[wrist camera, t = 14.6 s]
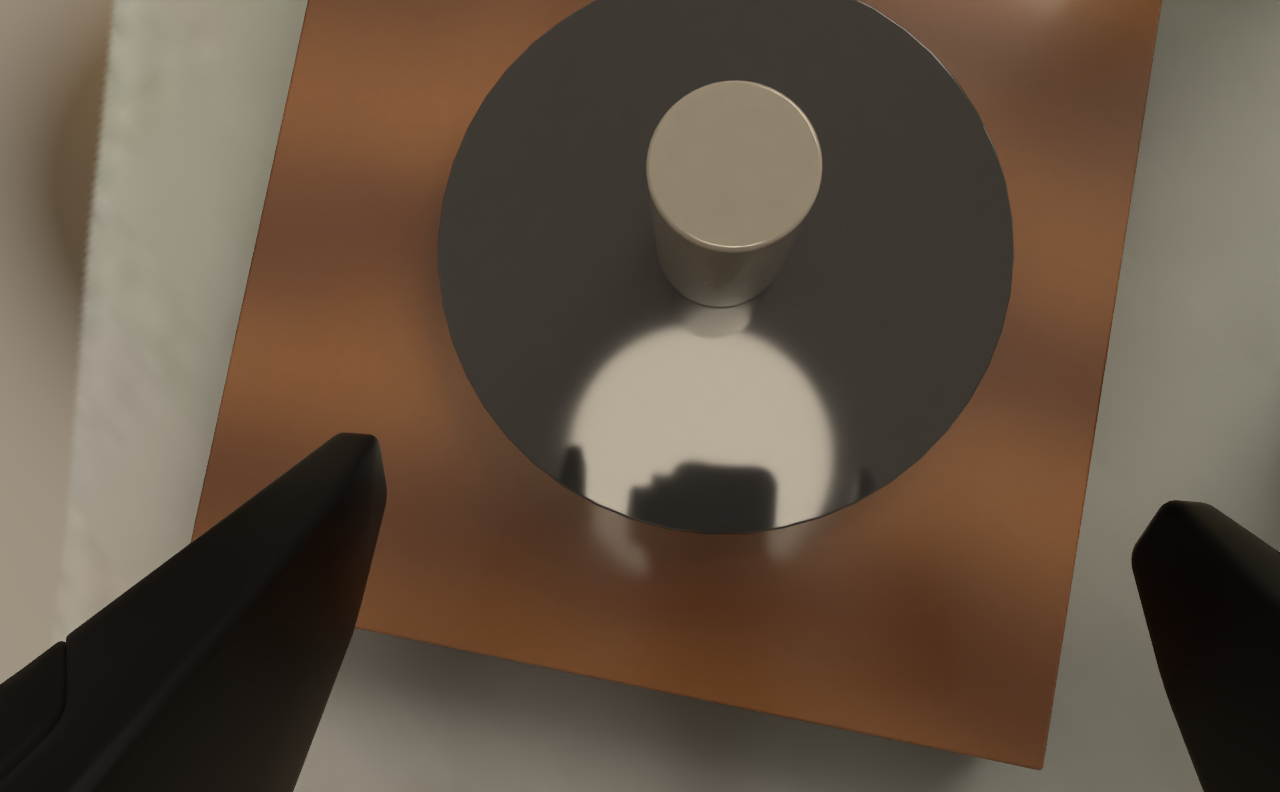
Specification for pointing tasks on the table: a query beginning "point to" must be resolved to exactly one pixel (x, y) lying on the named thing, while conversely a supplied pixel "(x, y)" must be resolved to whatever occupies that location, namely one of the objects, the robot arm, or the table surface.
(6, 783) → the robot arm
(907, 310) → the lid
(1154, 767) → the table surface
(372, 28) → the board
